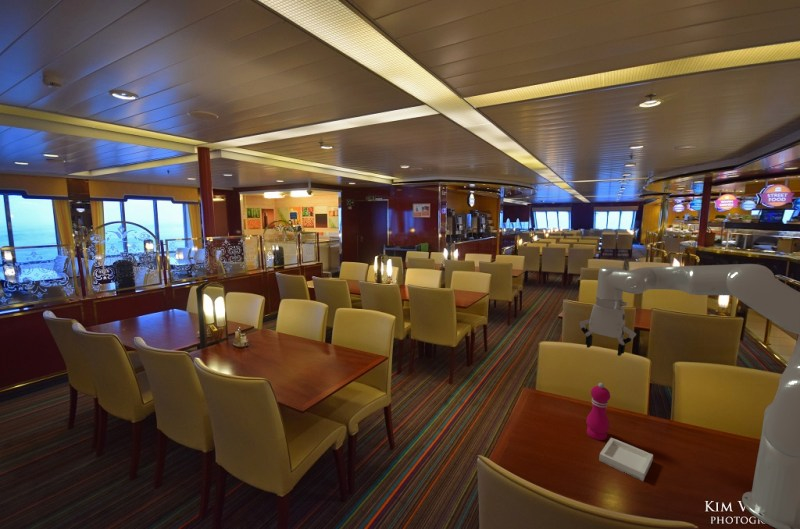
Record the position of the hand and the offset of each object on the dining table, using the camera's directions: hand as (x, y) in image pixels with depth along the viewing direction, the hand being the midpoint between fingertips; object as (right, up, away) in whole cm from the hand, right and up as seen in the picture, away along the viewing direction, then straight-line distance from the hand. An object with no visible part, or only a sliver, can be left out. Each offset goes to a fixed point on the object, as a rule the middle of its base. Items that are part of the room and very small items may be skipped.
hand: (604, 350), depth 120 cm
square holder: (+2, -34, -9) cm, 35 cm away
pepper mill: (0, -32, +5) cm, 32 cm away
